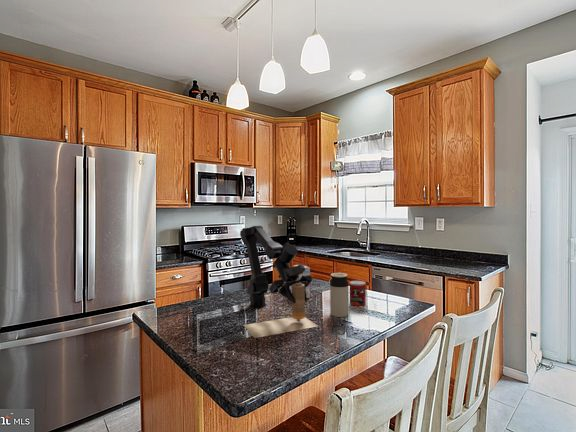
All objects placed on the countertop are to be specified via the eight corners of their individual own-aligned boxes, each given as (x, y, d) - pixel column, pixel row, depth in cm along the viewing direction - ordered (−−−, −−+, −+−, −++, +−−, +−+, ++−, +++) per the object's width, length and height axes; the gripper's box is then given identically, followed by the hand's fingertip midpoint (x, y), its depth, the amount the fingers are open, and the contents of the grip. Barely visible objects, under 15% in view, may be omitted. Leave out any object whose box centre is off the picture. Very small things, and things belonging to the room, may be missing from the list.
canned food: (347, 305, 153) (347, 283, 153) (352, 301, 160) (352, 280, 160) (363, 308, 149) (363, 284, 149) (367, 303, 156) (367, 281, 156)
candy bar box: (311, 298, 167) (310, 267, 166) (302, 299, 165) (302, 268, 164) (301, 293, 177) (301, 264, 177) (293, 294, 175) (293, 264, 174)
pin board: (254, 342, 112) (254, 328, 112) (243, 328, 125) (243, 316, 125) (318, 329, 123) (318, 317, 123) (302, 318, 135) (302, 307, 135)
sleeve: (292, 319, 124) (292, 286, 124) (292, 315, 129) (291, 283, 129) (305, 319, 124) (304, 286, 124) (304, 314, 129) (303, 283, 129)
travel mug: (348, 318, 135) (348, 276, 135) (329, 317, 137) (329, 276, 137) (348, 312, 143) (348, 272, 143) (331, 311, 145) (330, 272, 145)
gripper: (273, 260, 124) (289, 294, 115) (309, 256, 135) (327, 286, 126) (263, 276, 131) (277, 310, 122) (298, 271, 142) (314, 301, 133)
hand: (300, 301), depth 126 cm, fingers closed on sleeve, 5 cm apart
